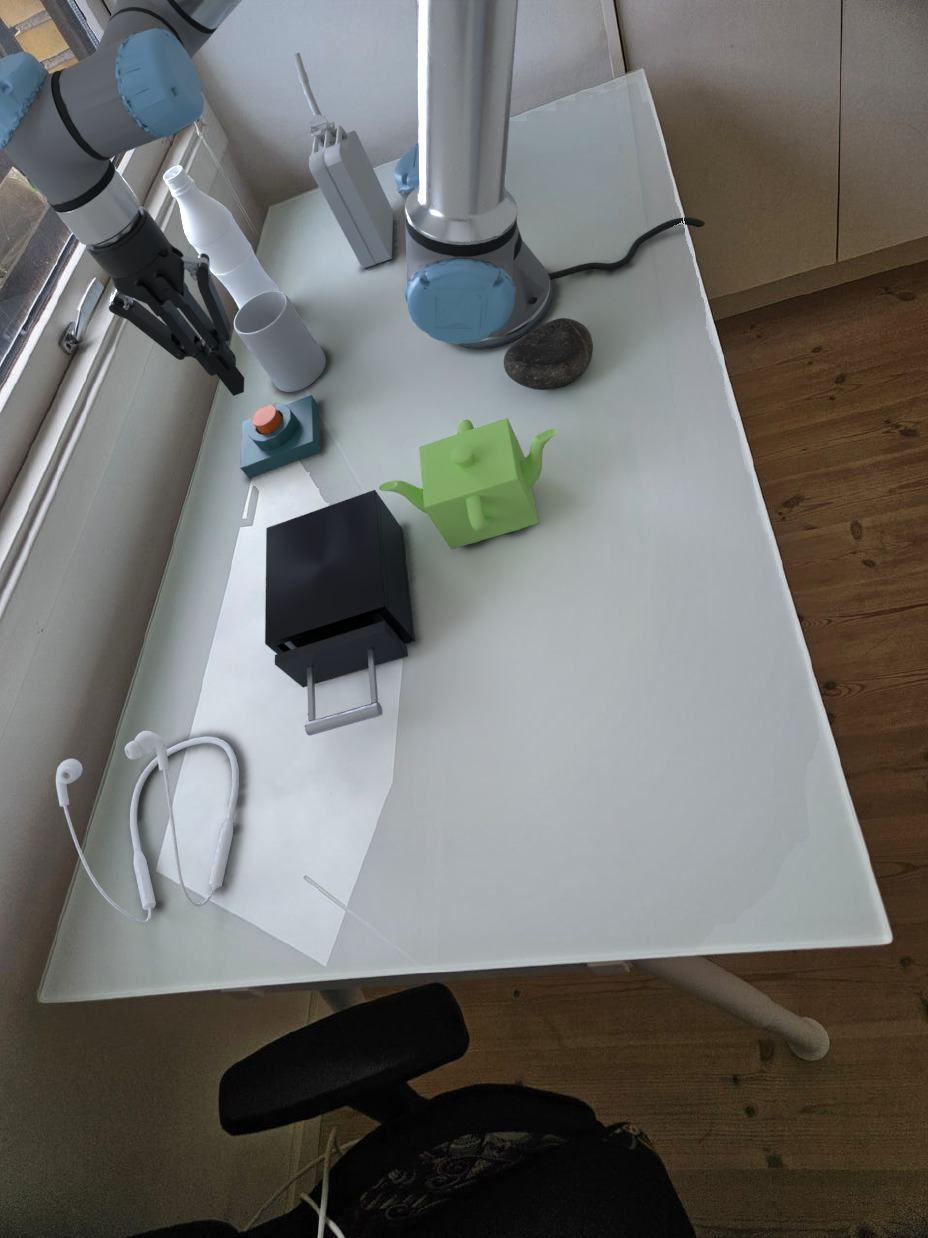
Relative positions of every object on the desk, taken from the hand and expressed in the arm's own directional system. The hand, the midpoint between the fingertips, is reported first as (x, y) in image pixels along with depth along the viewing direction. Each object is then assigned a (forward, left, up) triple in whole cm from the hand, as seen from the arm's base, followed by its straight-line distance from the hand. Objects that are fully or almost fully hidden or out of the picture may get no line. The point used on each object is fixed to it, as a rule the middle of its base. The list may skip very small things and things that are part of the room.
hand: (238, 386), depth 103 cm
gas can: (-17, -38, -11) cm, 43 cm away
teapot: (-27, +24, -11) cm, 38 cm away
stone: (-38, +5, -11) cm, 40 cm away
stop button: (0, 0, -7) cm, 7 cm away
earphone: (+12, +52, -11) cm, 54 cm away
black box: (-9, +30, -11) cm, 33 cm away
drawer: (-9, +37, -10) cm, 39 cm away
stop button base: (0, 0, -11) cm, 11 cm away
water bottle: (+2, -28, -11) cm, 30 cm away
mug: (-3, -15, -11) cm, 19 cm away
